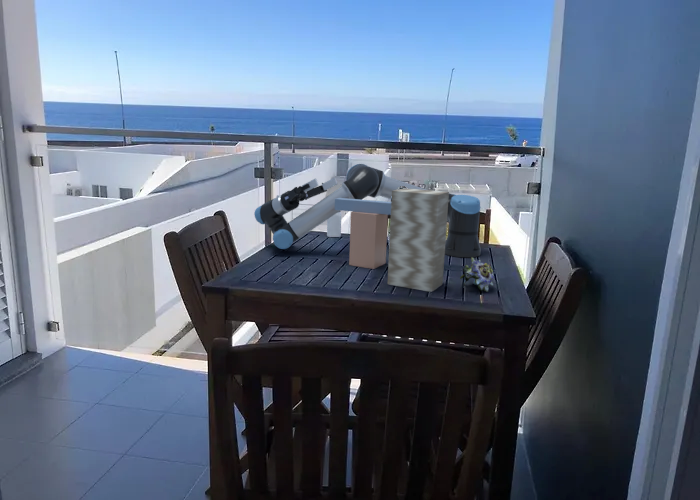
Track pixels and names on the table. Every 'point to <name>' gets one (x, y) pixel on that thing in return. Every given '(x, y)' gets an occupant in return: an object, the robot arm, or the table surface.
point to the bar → (363, 206)
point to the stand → (417, 238)
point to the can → (334, 225)
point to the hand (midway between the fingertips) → (326, 181)
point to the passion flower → (479, 274)
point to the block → (368, 239)
